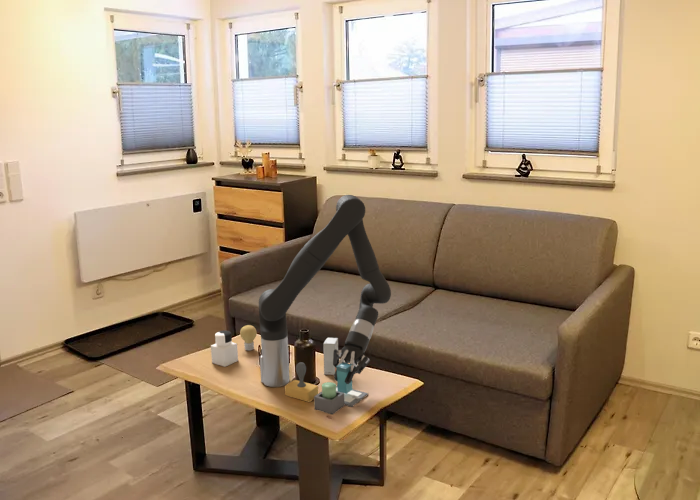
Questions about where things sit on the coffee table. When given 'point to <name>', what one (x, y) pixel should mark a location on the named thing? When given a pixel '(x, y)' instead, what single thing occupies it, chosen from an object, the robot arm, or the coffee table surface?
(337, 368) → the teal lidded box
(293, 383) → the rubber stamp
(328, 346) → the skincare box
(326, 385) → the button
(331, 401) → the button housing
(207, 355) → the coffee table surface
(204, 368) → the coffee table surface
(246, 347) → the light bulb
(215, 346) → the medicine bottle
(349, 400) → the clipboard
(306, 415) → the coffee table surface
